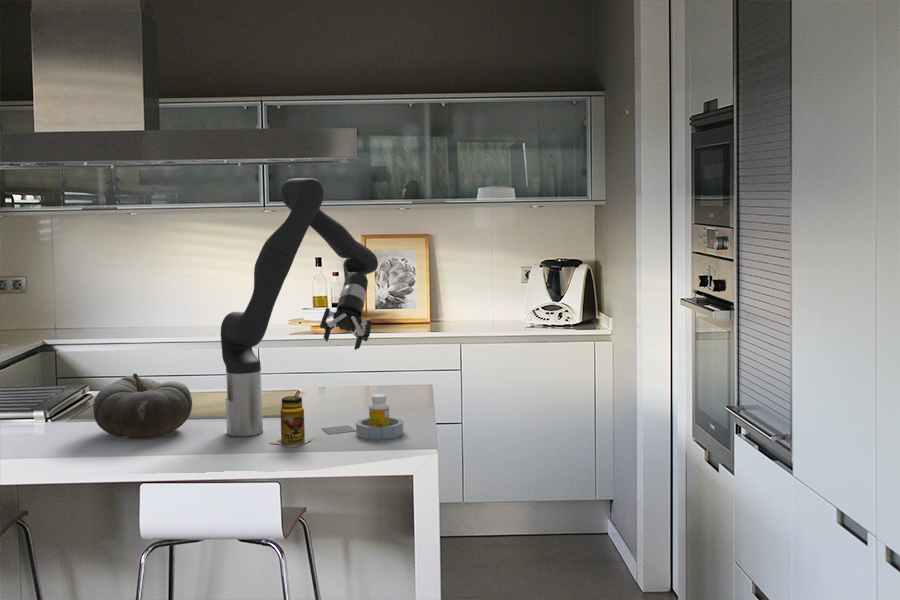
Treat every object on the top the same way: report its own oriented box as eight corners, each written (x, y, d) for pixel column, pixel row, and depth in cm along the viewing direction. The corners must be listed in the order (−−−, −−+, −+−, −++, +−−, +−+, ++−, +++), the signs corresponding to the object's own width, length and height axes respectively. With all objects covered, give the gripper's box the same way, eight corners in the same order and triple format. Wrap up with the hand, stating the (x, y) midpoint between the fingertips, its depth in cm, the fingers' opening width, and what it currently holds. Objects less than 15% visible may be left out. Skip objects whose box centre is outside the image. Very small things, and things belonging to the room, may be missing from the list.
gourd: (115, 412, 250) (120, 355, 246) (200, 426, 250) (206, 369, 246) (77, 444, 225) (81, 381, 222) (171, 459, 225) (177, 396, 222)
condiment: (294, 447, 220) (293, 401, 219) (269, 443, 224) (267, 398, 223) (312, 440, 227) (311, 396, 225) (287, 437, 231) (285, 393, 229)
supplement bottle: (365, 431, 232) (365, 396, 231) (376, 427, 237) (375, 392, 236) (382, 434, 230) (382, 398, 229) (393, 429, 234) (392, 394, 233)
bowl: (365, 441, 225) (365, 429, 225) (351, 430, 236) (351, 419, 236) (409, 436, 230) (409, 424, 230) (393, 426, 241) (393, 414, 241)
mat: (328, 435, 233) (328, 433, 233) (321, 429, 239) (321, 428, 239) (356, 432, 236) (356, 430, 236) (348, 426, 243) (348, 425, 243)
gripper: (331, 287, 249) (320, 328, 238) (377, 301, 252) (369, 342, 240) (325, 303, 255) (314, 344, 243) (371, 317, 257) (362, 358, 246)
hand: (341, 343), depth 242 cm, fingers open, 8 cm apart
